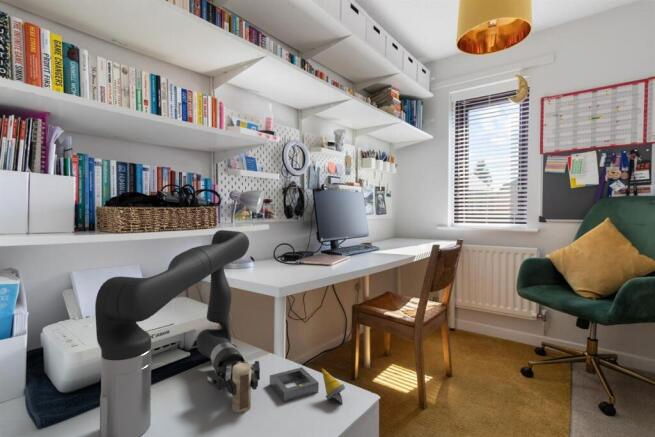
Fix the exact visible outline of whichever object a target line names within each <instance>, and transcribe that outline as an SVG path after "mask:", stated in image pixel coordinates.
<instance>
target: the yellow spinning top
mask: <svg viewBox="0 0 655 437" xmlns="http://www.w3.org/2000/svg"><path fill="white" fill-rule="evenodd" d="M321 371H322V372H321V373H322V377H323V383H324V385H325V386H324V387H325V393H326V395H325V398H326V399H327V401H329V399H330V400H331V399H333V398H334V399H335V400H337V401H338V402H339V403H340V404H341V403H342V404H343V396H342V394H341V393H342V392H343V391H344V390H345V388H346V386H345V384H343V383H341V382H339V381H338V380H337V379H336V378H335V377H334V376H333V375H331V374H330V373H329V372H328V371H326V369H324V368H323V367H322V368H321ZM342 404H341V405H342Z"/></svg>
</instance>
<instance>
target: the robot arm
mask: <svg viewBox="0 0 655 437" xmlns="http://www.w3.org/2000/svg"><path fill="white" fill-rule="evenodd" d="M249 248H250V239H249V237H248V236H247V234H245V233H244V232H241V231H237V230H226V229H221V230H220V229H219V230H217V231H216V232H214V234H213V237H212V239H211V243H210V244H203V245H199V246H198V245H197V246H195V247H191V248H189V249H187V250H185V251H182V252H180V253H179V254H177V255H175V256H173V258H172V260H171V261H170V262H169V264H168V267H167V269H166V270H164V271H162V272H161V273H158V274H156V275H152V276H148V277H135V276H134V277H133V276H113V277H111V278H108V279H107V280H105V281H104V282H103V283H102V284H101V286H100V287H99V289H98V292H97V294H96V298H95V304H94V305H95V306H94V308H95V313H94V314H95V315H94V316H95V329H96V341H97V344H98V346H99V348H100V353H101V354H100V355H101V357H100V358H101V359H100V360H101V372H100V373H101V374H100V376H101V379H100V384H101V385H100V386H101V387H100V397H99V437H141V436H142V435H144V434H145V433H146V432H147V431H148V430H149V428H150V426H151V421H152V420H151V417H152V413H151V412H152V410H151V409H152V408H151V406H152V404H151V403H152V397H151V396H152V395H151V394H152V337H151V335H150V333H149V332H148V331H146V330H145V329H143V328H142V327H141V326H140V325H139V324H138V323H139V322H140V323H141V322H143V321H145V320H147V319H150V318H151V317H152V316H154V315H155V314H157V313H158V312H159V311H160V310H161V309H162V308H164V307H166V305H167V304H169V303H170V302H172V301H173V299H175V298H176V297H177V296H179V295H180V294H182V293H184V292H185V291H186V290H188V289H190V288H191V287H192V286H194V285H196V284H198V283H200V282H201V281H203V280H204V279H205V278H208V277H209V276H210V290H209V298H208V305H207V312H206V320H207V321H208V322H210V323H214V324H217V325H219V326H220V328H218V329H217V328H206V329H203V330H202V331H200V332H199V333H198V334H197V337H196V343H195V345H196V348H197V350H198V352H199V353H200V354H202V355H203V356H204V357H206V358H208V359H209V360H210V361H211V365H212V368H213V369H214V370H215V372H214V371H211V370H209V371H208V372H207V384H209V385H211V386H212V387H213V388H215V389H216V390H217V391H222V389H223V388H225V389H224V390H226V391H227V392H228V394H231V396H232V395H236V385H235V383H234V382H233V380H232V379H233V366H234V365H236V364H239V363H248V364H250V363H249V362H247V361H245V358H244V357H243V355H242V354H241V353H240V351H239V350H238V349H237V348H236V346H234V345H233V343H232V335H231V328H230V311H231V303H232V291H231V287H230V285H229V281H228V279H227V276H226V273H225V268H224V266H227V265H229V264H231V263H233V262H236V261H238V260H240V259H242V258H243V257H244V256H245V255H246V254H247V252H248V249H249ZM250 365H251V390H257V388H259V381H260V380H261V378H260V377H261V374H260V373H261V368H260V361H259V360H255V361H254V363H252V364H250Z"/></svg>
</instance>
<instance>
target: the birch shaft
mask: <svg viewBox="0 0 655 437" xmlns="http://www.w3.org/2000/svg"><path fill="white" fill-rule="evenodd" d="M248 363H249V362H247V363H239V364H236V365H234V366H233V379H232V380H233V382H234V383H235V385H236V395H232V394H231V397H232V399H231V409H232V412H233V413H236V414H244V413H246V412H248V411H250V410H251V407H252V406H251V405H252V404H251V403H252V401H251V400H252V398H251V397H252V392H251V391H252V387H251V371H252V370H251V365H250V363H249V364H248Z"/></svg>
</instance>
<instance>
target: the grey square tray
mask: <svg viewBox="0 0 655 437" xmlns="http://www.w3.org/2000/svg"><path fill="white" fill-rule="evenodd" d="M297 380H300V381H301V382H302V383H301V384H298V385H293V386H290V387H287V386H286V385H285V384H288V383H291V382H295V381H297ZM269 385H270V387H271V388H272V389H273V391H275V393H276V394H277V395H278V397H279V398H280V399H281V401H282V402H283V403H286V402H290V401H294V400H296V399H299V398H303V397H306V396H308V395H312V394H316V393H319V392H318V391H319V389H320V388H319V387H320V386H319V381H318V380H317V379H316V378H314V377H313V375H312V374H310V373H309V372H308V371H307V370H306V369H305V368H304V367H297V368H294V369H290V370H286V371H283V372H279V373H277V372H276V373H273V374H271V375H269Z"/></svg>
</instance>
